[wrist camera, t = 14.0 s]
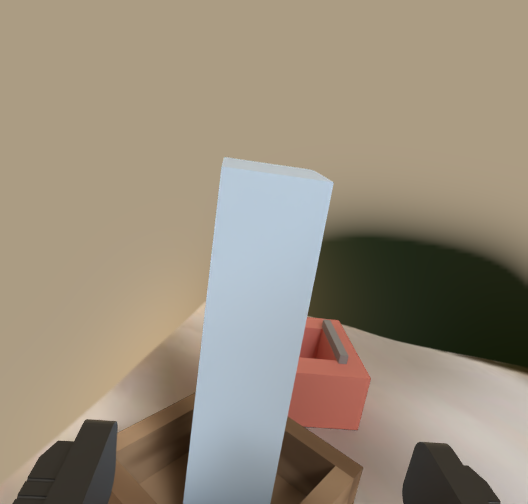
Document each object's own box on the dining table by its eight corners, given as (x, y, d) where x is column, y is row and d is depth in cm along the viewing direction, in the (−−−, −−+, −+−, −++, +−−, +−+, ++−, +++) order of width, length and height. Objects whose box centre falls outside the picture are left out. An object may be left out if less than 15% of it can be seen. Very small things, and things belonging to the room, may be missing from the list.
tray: (221, 424, 32) (228, 375, 31) (347, 524, 25) (363, 467, 24) (78, 515, 23) (79, 452, 22) (213, 702, 17) (227, 628, 15)
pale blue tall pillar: (187, 474, 26) (224, 157, 20) (257, 478, 26) (312, 170, 21) (178, 544, 22) (221, 166, 16) (261, 547, 22) (333, 182, 16)
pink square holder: (236, 354, 42) (243, 303, 40) (329, 362, 43) (340, 313, 41) (238, 422, 32) (247, 359, 31) (357, 430, 34) (373, 369, 32)
